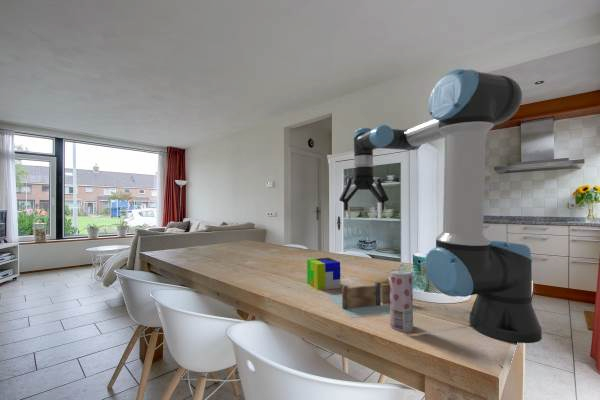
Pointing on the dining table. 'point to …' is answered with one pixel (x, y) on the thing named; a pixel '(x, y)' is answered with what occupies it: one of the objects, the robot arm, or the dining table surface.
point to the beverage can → (401, 300)
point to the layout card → (362, 308)
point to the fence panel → (361, 296)
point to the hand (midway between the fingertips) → (364, 218)
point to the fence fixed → (385, 293)
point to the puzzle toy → (323, 273)
